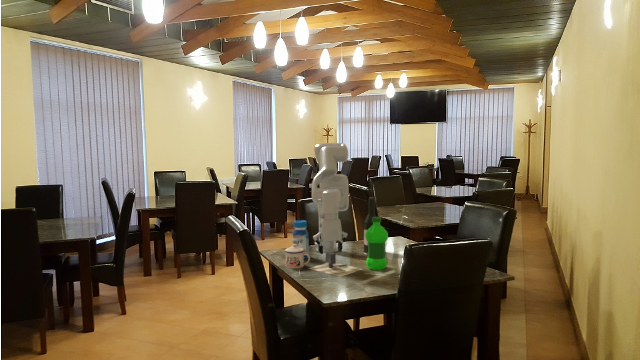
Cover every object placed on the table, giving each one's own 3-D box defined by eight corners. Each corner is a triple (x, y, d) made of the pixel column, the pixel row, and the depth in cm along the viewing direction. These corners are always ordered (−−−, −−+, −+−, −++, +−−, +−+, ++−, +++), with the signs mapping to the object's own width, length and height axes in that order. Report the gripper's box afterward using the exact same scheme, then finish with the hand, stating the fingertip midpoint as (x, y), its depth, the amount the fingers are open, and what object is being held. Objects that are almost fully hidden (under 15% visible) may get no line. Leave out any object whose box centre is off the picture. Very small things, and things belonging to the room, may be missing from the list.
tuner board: (308, 270, 215) (308, 268, 215) (330, 264, 227) (330, 261, 227) (340, 279, 202) (340, 276, 202) (363, 271, 214) (363, 268, 213)
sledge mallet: (330, 269, 213) (330, 254, 213) (325, 266, 219) (325, 251, 218) (349, 267, 217) (349, 252, 216) (344, 264, 222) (344, 249, 222)
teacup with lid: (283, 270, 217) (282, 246, 216) (287, 265, 226) (287, 242, 225) (308, 271, 215) (307, 246, 214) (311, 266, 224) (311, 242, 223)
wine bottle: (362, 250, 257) (362, 196, 255) (377, 249, 258) (377, 196, 256) (365, 253, 249) (365, 198, 247) (380, 253, 250) (380, 198, 247)
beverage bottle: (312, 259, 237) (312, 220, 236) (300, 262, 231) (300, 223, 230) (300, 256, 243) (300, 219, 241) (289, 259, 237) (288, 221, 235)
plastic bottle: (387, 273, 210) (387, 219, 208) (364, 273, 211) (364, 219, 209) (388, 268, 219) (388, 216, 217) (365, 267, 221) (365, 215, 219)
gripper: (316, 219, 208) (316, 256, 210) (350, 216, 215) (350, 252, 216) (310, 216, 215) (310, 252, 217) (343, 213, 221) (343, 248, 223)
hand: (330, 252), depth 217 cm, fingers open, 9 cm apart
